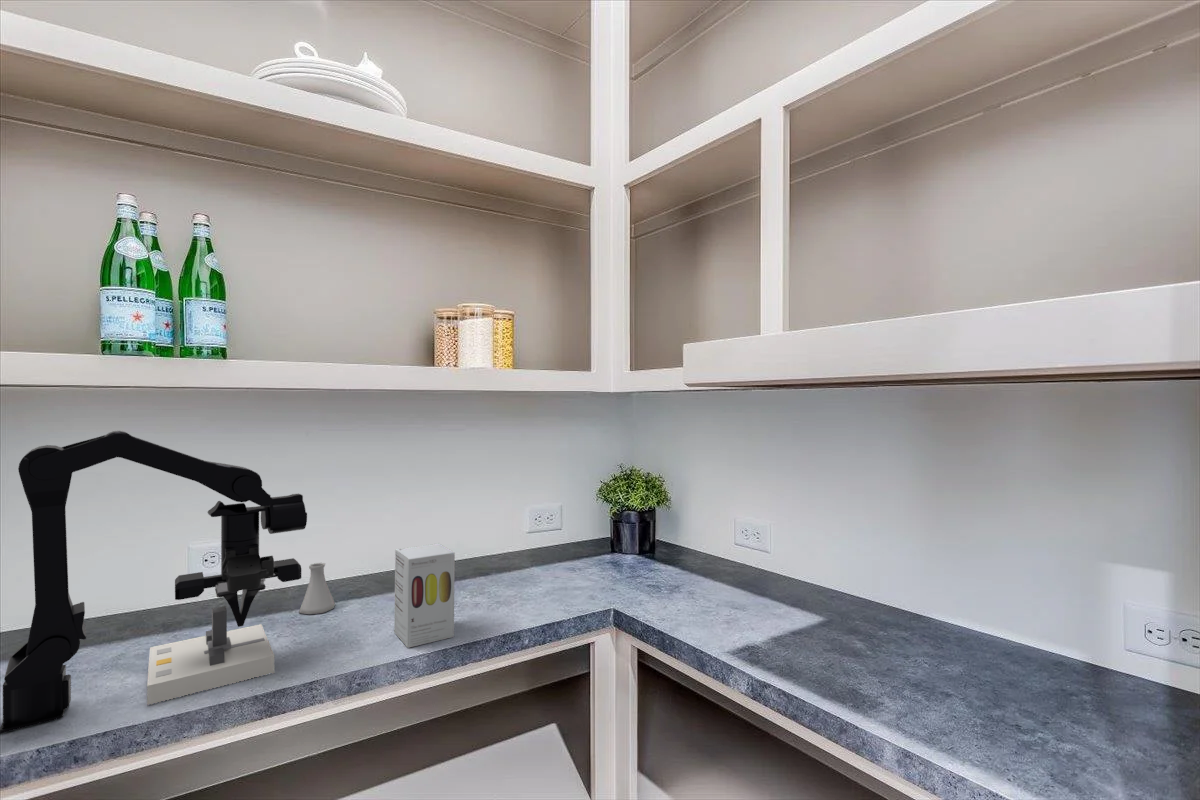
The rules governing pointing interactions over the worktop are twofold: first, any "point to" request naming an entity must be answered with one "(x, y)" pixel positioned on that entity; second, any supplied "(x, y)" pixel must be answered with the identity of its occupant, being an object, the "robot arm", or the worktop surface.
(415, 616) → the supplement box
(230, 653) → the panel
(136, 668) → the worktop surface
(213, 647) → the handle
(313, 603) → the flask
